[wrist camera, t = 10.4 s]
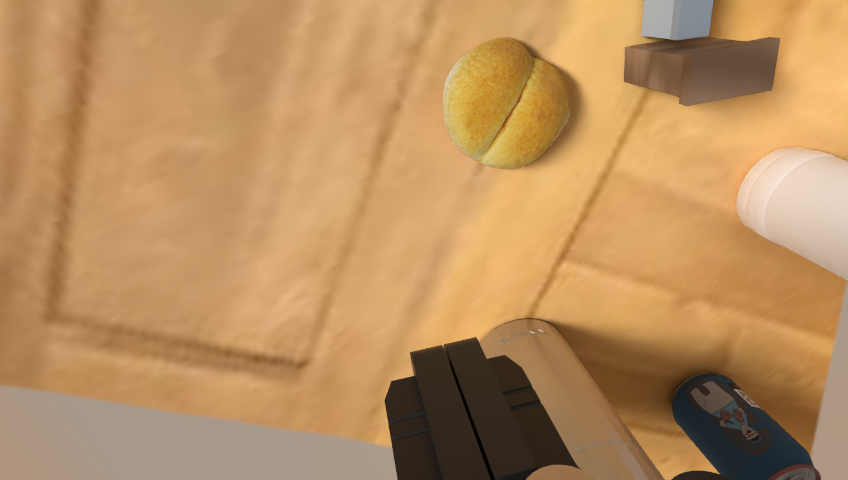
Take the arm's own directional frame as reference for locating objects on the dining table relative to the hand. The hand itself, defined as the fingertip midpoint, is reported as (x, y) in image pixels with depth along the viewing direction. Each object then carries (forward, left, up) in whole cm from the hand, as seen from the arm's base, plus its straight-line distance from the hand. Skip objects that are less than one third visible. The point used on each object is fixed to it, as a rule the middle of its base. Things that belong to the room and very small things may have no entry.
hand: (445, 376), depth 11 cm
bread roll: (-1, -10, -27) cm, 29 cm away
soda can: (-34, -29, -27) cm, 52 cm away
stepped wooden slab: (+1, -22, -27) cm, 35 cm away
